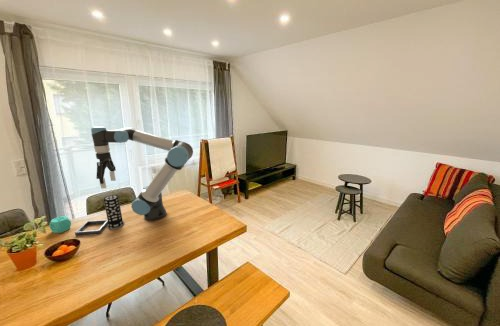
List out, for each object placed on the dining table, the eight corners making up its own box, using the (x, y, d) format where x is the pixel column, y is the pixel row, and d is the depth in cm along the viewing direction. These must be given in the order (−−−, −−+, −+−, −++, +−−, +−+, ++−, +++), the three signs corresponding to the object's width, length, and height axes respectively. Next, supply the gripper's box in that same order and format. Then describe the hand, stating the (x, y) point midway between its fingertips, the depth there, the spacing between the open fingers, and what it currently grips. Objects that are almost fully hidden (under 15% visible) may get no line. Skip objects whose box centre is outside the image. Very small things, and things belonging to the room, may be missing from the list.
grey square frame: (109, 222, 152) (109, 219, 151) (100, 233, 139) (99, 230, 138) (87, 224, 150) (87, 220, 149) (75, 236, 136) (74, 232, 136)
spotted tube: (116, 228, 143) (111, 201, 138) (105, 227, 145) (100, 199, 139) (125, 222, 151) (121, 195, 146) (115, 220, 153) (110, 194, 147)
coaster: (126, 221, 154) (126, 220, 154) (121, 228, 144) (121, 228, 144) (111, 222, 152) (111, 221, 152) (104, 230, 143) (104, 229, 142)
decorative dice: (58, 234, 138) (55, 223, 136) (50, 231, 141) (47, 220, 139) (72, 227, 145) (69, 217, 143) (64, 225, 148) (62, 215, 146)
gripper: (105, 148, 145) (111, 178, 151) (84, 157, 122) (92, 192, 128) (117, 147, 147) (122, 177, 152) (99, 156, 123) (106, 191, 129)
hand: (108, 184), depth 140 cm, fingers open, 13 cm apart
